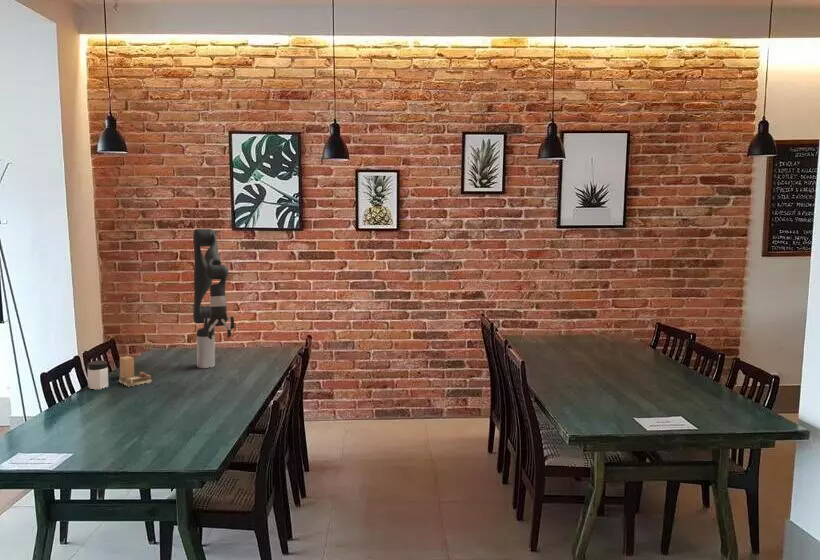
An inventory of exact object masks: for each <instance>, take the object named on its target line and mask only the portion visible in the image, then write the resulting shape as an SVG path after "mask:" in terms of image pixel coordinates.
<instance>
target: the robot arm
mask: <svg viewBox="0 0 820 560" xmlns="http://www.w3.org/2000/svg"><path fill="white" fill-rule="evenodd" d="M192 238H193V252H194V253H193V255H194V260H193V262H194V263H193V288H194V289H193V291H194V295H193V297H194V298H193V308H192V309H193V312H192V313H193V314H192V319H193V322H194V324H203V327H201V328H199V329H197V330H196V367H197V368H198V369H207V368H208V369H210V368H213V367H215V365H216V351H215V348H216V347H215V343H216V342H215V327H223V326H224V328H225V329H227V330H226V335H227V338H228V339H230V337H232V331H231V330H233V329H235V328H236V327H235V319H234V318H235V317H234V316H228V315H227V299H226V298H227V297H226V284H227V283H226V282H227V278H228V276H229V275H228V274H229V269H228V267H227V266H226V265H225V264H222V260H221V257H220V255H219V249H218V247H219V246H218V241H217V240H218V239H217V234H216V232H215V230H214V229H211V228H196V229H194V230H193V235H192ZM201 247H208V248H207V250H206V252H205V254H204V255H203V253H202V249H201ZM213 280H219V282H218V283H217V282H216V283H213ZM212 283H213V284H212ZM208 290H209V291H210V292H209V296H210V297H209V299H210V300H209V305H202V302H203V299H204V297H205V295H206V293H207V292H208ZM201 305H202V306H201ZM227 321H229V322H230V326H229V324H228V323H227ZM209 367H210V368H209Z"/></svg>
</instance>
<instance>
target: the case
mask: <svg viewBox="0 0 820 560" xmlns="http://www.w3.org/2000/svg"><path fill="white" fill-rule="evenodd" d="M120 375H123V376H125V377H128V378H130V377H135V358H134V357H132V356H130V355H126V356H120V357H119V376H120Z"/></svg>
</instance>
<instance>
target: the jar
mask: <svg viewBox="0 0 820 560" xmlns="http://www.w3.org/2000/svg"><path fill="white" fill-rule="evenodd" d="M87 387H88V388H90V389H94V390H102V388H103V389H106V388H109V367H108V361H106V360H93V361H89V362H88V363H87ZM105 387H106V388H105ZM90 389H89V390H90Z"/></svg>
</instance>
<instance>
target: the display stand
mask: <svg viewBox="0 0 820 560" xmlns="http://www.w3.org/2000/svg"><path fill="white" fill-rule="evenodd" d="M118 378H119V379H118V383H119V382H120V383H119V384H121V383H122V384H121V385H123V384H124V385H123V386H125V385H126V386H125V387H127V386H128V388H131V387H130V386H132V387H136V386H135V385H137V386H141V385H140V384H142V385H145V384H144V383H147V384H151V383H150V382H153V381H152V375H150V374H148V373H146V372H144V371H138V375H134V377H130V378H128V377H125V376H123V375H120V374H119V376H118Z"/></svg>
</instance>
